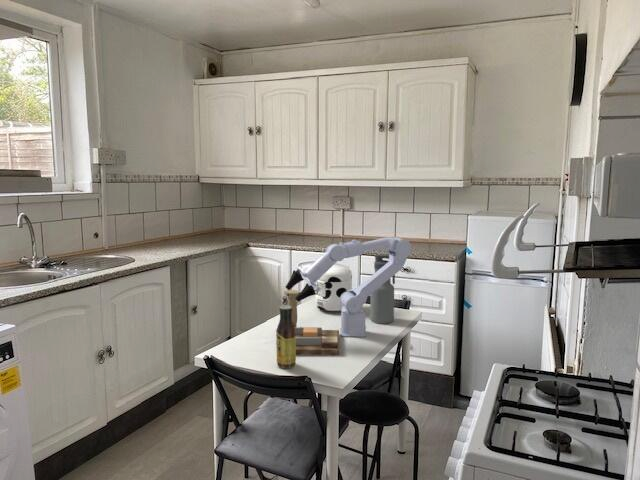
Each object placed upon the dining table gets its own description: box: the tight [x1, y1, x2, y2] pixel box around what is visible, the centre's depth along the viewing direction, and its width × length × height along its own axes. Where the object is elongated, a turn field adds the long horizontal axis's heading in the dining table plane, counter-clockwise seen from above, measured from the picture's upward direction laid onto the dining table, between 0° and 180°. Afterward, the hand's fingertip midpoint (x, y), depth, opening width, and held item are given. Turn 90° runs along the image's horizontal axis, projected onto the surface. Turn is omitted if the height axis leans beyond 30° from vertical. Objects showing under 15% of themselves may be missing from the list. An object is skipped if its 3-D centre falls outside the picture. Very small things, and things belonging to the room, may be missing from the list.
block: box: [303, 328, 318, 337], centre depth 174 cm, size 5×5×4 cm
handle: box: [283, 289, 301, 327], centre depth 191 cm, size 5×6×15 cm
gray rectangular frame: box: [295, 326, 323, 345], centre depth 174 cm, size 14×12×2 cm
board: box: [296, 329, 341, 356], centre depth 174 cm, size 20×20×2 cm
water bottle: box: [369, 253, 396, 325], centre depth 199 cm, size 10×10×28 cm
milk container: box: [315, 266, 353, 313], centre depth 216 cm, size 17×17×18 cm
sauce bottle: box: [275, 304, 297, 369], centre depth 154 cm, size 7×6×20 cm
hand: (291, 294), depth 178 cm, fingers open, 7 cm apart
